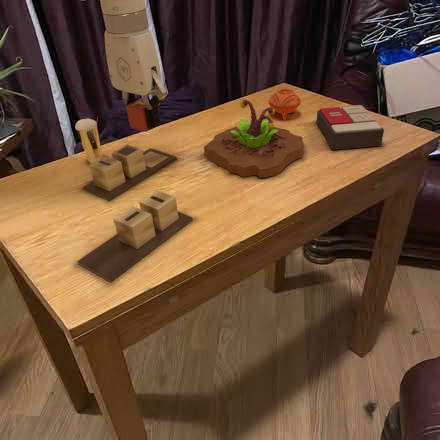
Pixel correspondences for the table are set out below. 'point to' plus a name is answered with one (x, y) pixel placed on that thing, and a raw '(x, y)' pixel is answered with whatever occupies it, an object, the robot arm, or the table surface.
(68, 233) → the table surface
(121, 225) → the front word
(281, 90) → the pot
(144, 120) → the letter block
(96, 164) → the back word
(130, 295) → the table surface
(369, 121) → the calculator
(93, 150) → the beer glass
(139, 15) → the robot arm
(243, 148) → the plant
